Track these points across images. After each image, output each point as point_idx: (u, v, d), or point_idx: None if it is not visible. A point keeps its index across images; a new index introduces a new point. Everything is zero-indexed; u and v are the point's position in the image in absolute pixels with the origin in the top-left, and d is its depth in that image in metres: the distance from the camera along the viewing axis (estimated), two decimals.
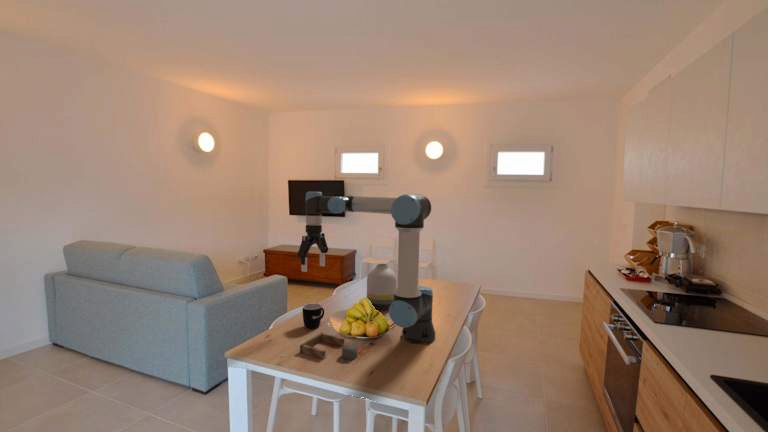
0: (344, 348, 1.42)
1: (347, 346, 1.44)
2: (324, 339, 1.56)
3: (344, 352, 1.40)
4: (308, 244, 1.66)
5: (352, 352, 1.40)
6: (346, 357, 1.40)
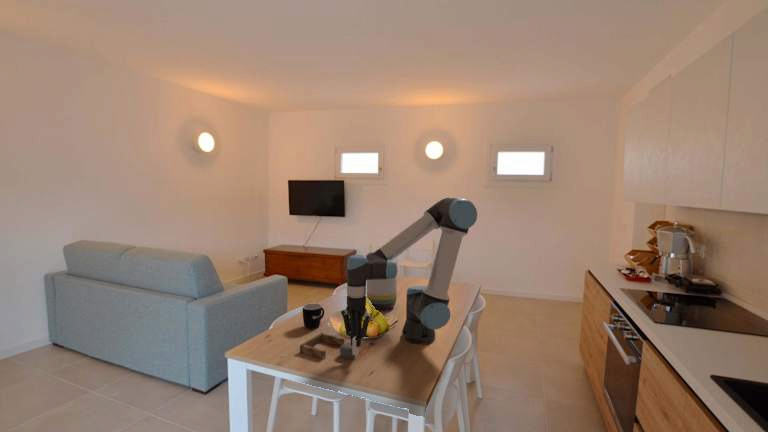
0: (342, 347, 1.42)
1: (345, 345, 1.44)
2: (324, 339, 1.56)
3: (342, 351, 1.41)
4: None
5: (350, 351, 1.40)
6: (344, 356, 1.40)
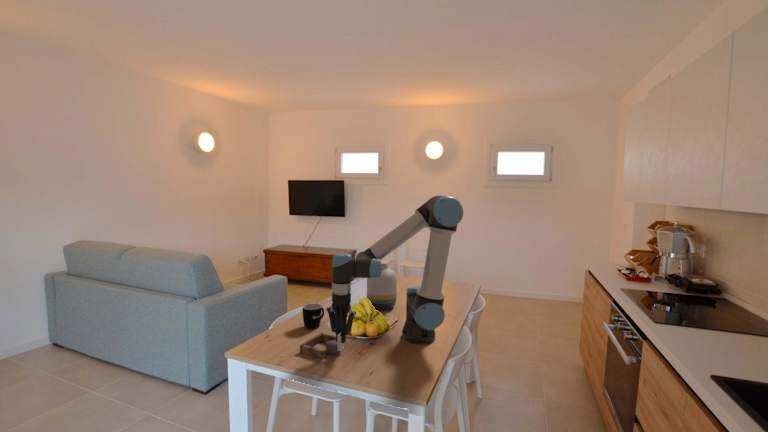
0: (328, 343, 1.45)
1: (331, 341, 1.47)
2: (324, 339, 1.56)
3: (327, 347, 1.44)
4: None
5: (335, 347, 1.43)
6: (329, 352, 1.43)
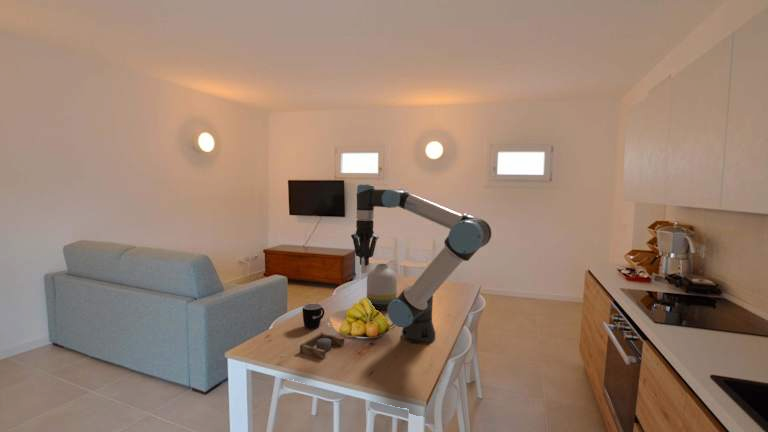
0: (318, 341, 1.48)
1: (321, 339, 1.49)
2: None
3: (318, 345, 1.46)
4: None
5: (325, 345, 1.46)
6: None
